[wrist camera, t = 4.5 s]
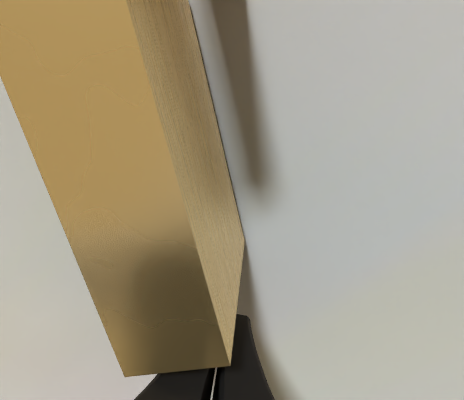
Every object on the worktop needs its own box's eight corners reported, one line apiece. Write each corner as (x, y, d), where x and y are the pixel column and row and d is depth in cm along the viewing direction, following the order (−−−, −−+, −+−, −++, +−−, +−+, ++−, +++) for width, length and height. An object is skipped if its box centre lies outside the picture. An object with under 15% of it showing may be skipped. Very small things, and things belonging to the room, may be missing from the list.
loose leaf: (290, 234, 13) (302, 358, 8) (133, 258, 13) (61, 383, 9) (201, -246, 9) (119, -548, 4) (-19, -170, 9) (-298, -349, 5)
